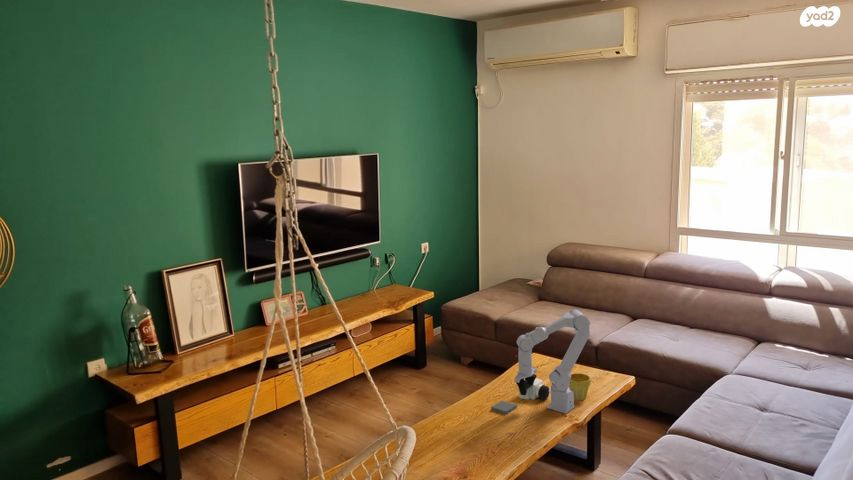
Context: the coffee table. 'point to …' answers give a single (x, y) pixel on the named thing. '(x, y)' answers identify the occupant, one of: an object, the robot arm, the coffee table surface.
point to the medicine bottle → (540, 390)
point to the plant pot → (579, 385)
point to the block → (504, 407)
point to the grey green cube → (527, 392)
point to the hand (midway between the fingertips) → (526, 392)
